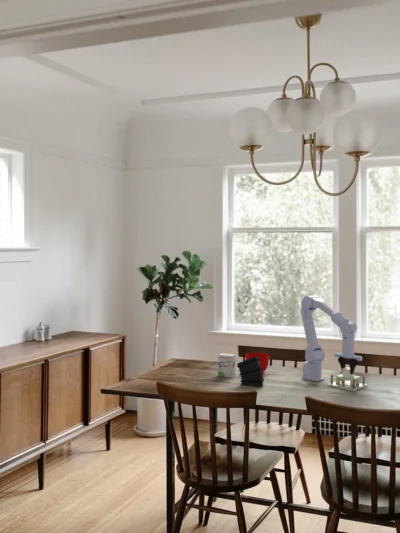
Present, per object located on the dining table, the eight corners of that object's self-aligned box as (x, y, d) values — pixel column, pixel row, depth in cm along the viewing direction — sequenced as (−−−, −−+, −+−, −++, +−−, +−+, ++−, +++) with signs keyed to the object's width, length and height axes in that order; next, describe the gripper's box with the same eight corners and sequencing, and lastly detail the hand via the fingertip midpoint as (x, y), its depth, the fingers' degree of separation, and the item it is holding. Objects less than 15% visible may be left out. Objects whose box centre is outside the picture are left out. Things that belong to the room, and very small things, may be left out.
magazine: (266, 385, 280) (255, 356, 282) (244, 393, 285) (233, 365, 288) (269, 383, 283) (257, 355, 285) (247, 391, 289) (236, 364, 291)
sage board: (335, 377, 287) (335, 368, 287) (342, 375, 292) (342, 365, 292) (353, 381, 280) (353, 371, 280) (360, 378, 285) (360, 368, 285)
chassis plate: (327, 386, 286) (328, 375, 285) (342, 381, 296) (342, 371, 295) (353, 391, 276) (353, 379, 276) (367, 386, 286) (367, 375, 286)
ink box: (217, 376, 305) (217, 354, 305) (220, 374, 310) (220, 352, 310) (232, 377, 302) (232, 355, 302) (235, 375, 307) (235, 354, 307)
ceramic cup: (275, 371, 320) (276, 353, 320) (262, 376, 306) (262, 358, 305) (255, 368, 327) (255, 350, 327) (241, 373, 313) (241, 355, 312)
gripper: (365, 346, 283) (365, 374, 283) (339, 343, 293) (339, 369, 293) (358, 348, 278) (357, 376, 278) (332, 345, 288) (331, 371, 288)
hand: (347, 373), depth 285 cm, fingers closed on sage board, 4 cm apart
